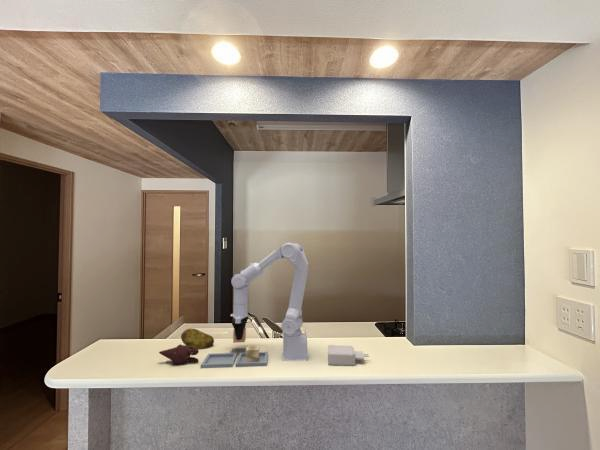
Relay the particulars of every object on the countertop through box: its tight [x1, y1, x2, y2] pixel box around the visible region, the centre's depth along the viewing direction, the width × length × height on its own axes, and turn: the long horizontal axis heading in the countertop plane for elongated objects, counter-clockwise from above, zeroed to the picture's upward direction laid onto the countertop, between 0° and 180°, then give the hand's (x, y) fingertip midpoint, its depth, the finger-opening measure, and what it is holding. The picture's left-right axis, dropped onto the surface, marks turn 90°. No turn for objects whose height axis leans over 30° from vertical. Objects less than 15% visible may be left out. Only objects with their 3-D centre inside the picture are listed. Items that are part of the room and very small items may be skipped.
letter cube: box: [232, 327, 247, 344], centre depth 116 cm, size 4×5×5 cm
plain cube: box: [246, 345, 260, 362], centre depth 106 cm, size 4×4×4 cm
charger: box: [327, 344, 370, 367], centre depth 106 cm, size 5×9×15 cm
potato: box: [180, 328, 215, 350], centre depth 122 cm, size 8×13×8 cm, turn 83°
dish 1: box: [200, 352, 238, 369], centre depth 105 cm, size 11×11×2 cm
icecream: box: [158, 344, 200, 365], centre depth 105 cm, size 7×7×15 cm
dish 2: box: [234, 351, 269, 368], centre depth 106 cm, size 11×11×2 cm
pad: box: [230, 347, 247, 356], centre depth 116 cm, size 7×7×1 cm
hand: (240, 337), depth 116 cm, fingers closed on letter cube, 5 cm apart
